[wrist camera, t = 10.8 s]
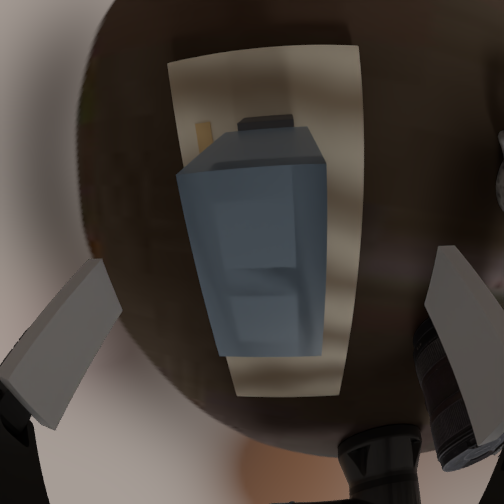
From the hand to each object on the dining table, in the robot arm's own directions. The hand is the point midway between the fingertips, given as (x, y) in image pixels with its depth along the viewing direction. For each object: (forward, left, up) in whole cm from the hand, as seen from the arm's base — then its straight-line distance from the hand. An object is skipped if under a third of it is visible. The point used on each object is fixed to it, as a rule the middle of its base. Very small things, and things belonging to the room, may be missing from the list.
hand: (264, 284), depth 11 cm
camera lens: (-17, -17, -12) cm, 27 cm away
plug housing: (0, 0, -8) cm, 8 cm away
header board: (-8, 0, -12) cm, 14 cm away
